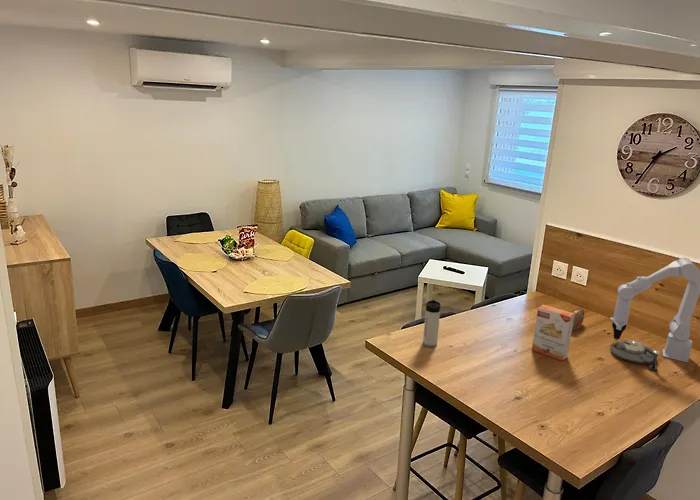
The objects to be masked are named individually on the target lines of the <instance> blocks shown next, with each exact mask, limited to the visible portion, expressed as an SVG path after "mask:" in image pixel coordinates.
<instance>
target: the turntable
mask: <svg viewBox="0 0 700 500" xmlns="http://www.w3.org/2000/svg"><path fill="white" fill-rule="evenodd" d="M624 341H625V340H618V339H614V338H613V342H612V343H610V348H609V350H610V352H611V353H612V354H613V355H614V356H616V357H618V358H620V359H622V360H624V361H628V362H632V363H636V364H652V363H653V358H654V355H652V354H650V353H649V352H646V355H645V354H644V352H643V354H641V355H635V354H631V353H628V352H626V351H625V350H623V345H624ZM644 346H645V347H644V351H645V348H647V349H649V350H651V351H652V352H653V351H654V349H652V348H650V347H648V346H646V345H644Z"/></svg>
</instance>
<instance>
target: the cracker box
mask: <svg viewBox="0 0 700 500" xmlns="http://www.w3.org/2000/svg"><path fill="white" fill-rule="evenodd" d="M574 316H575V314H574V313H572V312H571V311H566V310H564V309H560V308H556V307H553V306H550V305H546V304H541V305H540V306H539V307H538V309H537V314H536V320H535V327H534V331H533V339H532V347H531V351H533V352H534V353H535V352H536V353H539V354H540V355H544V356H547V357H550V358H552V359H556V360H559V361H562V362H564V361H565V360H566V359H567V357H568V354H569V350H570V343H571V337H572V331H573V330H572V327H573V321H574Z"/></svg>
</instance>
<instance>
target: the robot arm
mask: <svg viewBox="0 0 700 500" xmlns="http://www.w3.org/2000/svg"><path fill="white" fill-rule="evenodd" d="M680 275H681V276H682V277H683V278H684V279H686V280H687V284H686V288H685V291H684V293H683V297H682V299H681V301H680V305H679V309H678V311H677V313H676V315H674V316H673V319H672V320H671V321H670V322H669V323H668V328H669V330H670V331H669V332H668V335H667V338H666V344H665V347H664V348H663V349H662V357H663V358H667V359H672V360H675V359H676V361H680V362H684V363H689V361H690V360H689V359H690V355H691V352H692V351H691V350H692V347H693V340H691V339H689V338H690V336H691V332H690V330H691V319H692V316H693V314H694V310H695V307H696V305H697V302H698V300H699V296H700V269H699V268H698V266H696V265H695V263H694V262H693V261H691V260H690V259H689V258H687V257H680V258H679V259H677V260H674V261H672V262H671V263H670V264H668V265H666V266H664V267H663V268H662V267H661V269H659V270H657V271H655V272H653V273H652V274H650V275H648V276H643V275H642V276H637V277H636V278H635V279H634V280H633V281H631V282H626V283H625V284H621V285H619V286H618V288H617V289H616V290H617V291H616V292H617V293H618V295H617V299H616V302H615V306H614V308H615V309H614V313H613V317H610V318H609V320H610V321H612V323H611V326H612V329H613V340H614V339H617V340H618V341H620V338H621V336H622V334H623V332H624V331H625V330H626V328H627V324H628V319H629V315H630V310H631V304H632V299H634V298H635V296H636V295H638V294H640V293H642V292H644V291H646V290H648V289H650V288H651V287H652V285H653V284H654V283H656V282H659V281H661V280H664V279H665V278H666V279H667V278H668V277H670V276H672V277H676V278H677V277H678V278H679V277H681V276H680Z"/></svg>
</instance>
